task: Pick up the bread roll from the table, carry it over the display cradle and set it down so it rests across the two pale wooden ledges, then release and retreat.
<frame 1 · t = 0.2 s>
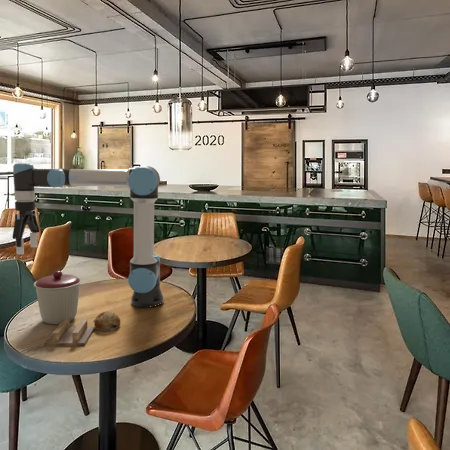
hand: (27, 250, 165), 28 cm above the table, tool pointing down, fingers open, 13 cm apart
display stand: (70, 337, 147), on the table
canister: (59, 320, 163), on the table
bread roll: (106, 327, 158), on the table
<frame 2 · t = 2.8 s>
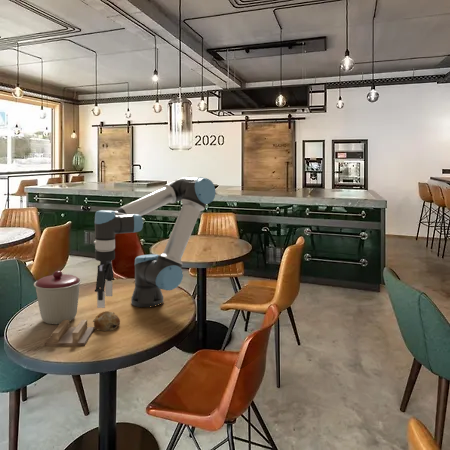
hand: (105, 301, 156), 11 cm above the table, tool pointing down, fingers open, 13 cm apart
nothing on the table moved.
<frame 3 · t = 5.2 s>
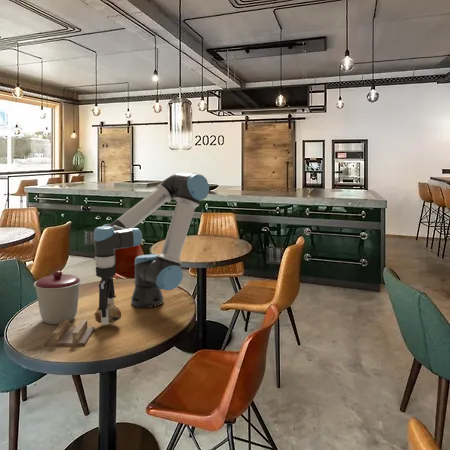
hand: (108, 318, 158), 3 cm above the table, tool pointing down, fingers closed on bread roll, 10 cm apart
bread roll: (107, 319, 158), point 3 cm above the table, touching gripper
everything else where it was.
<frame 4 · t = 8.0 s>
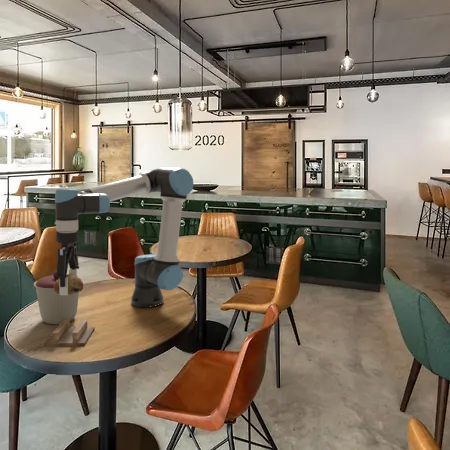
hand: (68, 290, 144), 19 cm above the table, tool pointing down, fingers closed on bread roll, 10 cm apart
bread roll: (67, 291, 144), point 18 cm above the table, touching gripper
everything else where it was.
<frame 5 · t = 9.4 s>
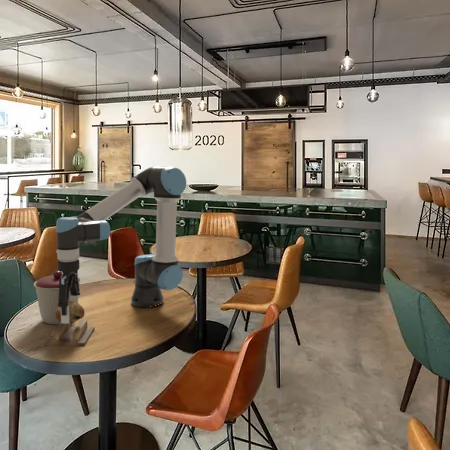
hand: (70, 317, 146), 8 cm above the table, tool pointing down, fingers closed on bread roll, 10 cm apart
bread roll: (69, 318, 146), point 7 cm above the table, touching gripper
everything else where it was.
when the fingers open (4 cm above the table, at t = 10.7 s): bread roll stays where it is, resting on display stand.
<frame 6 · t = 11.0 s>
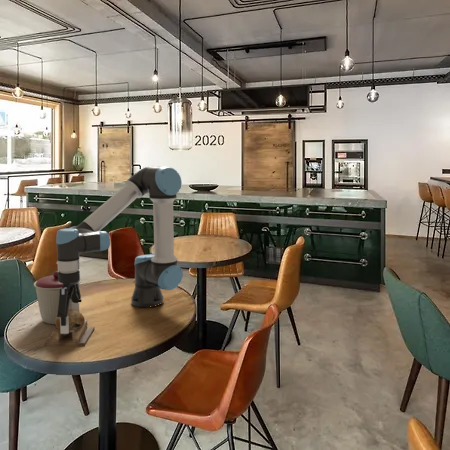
hand: (70, 325, 147), 5 cm above the table, tool pointing down, fingers open, 12 cm apart
bread roll: (69, 326, 147), point 4 cm above the table, touching display stand
everything else where it was.
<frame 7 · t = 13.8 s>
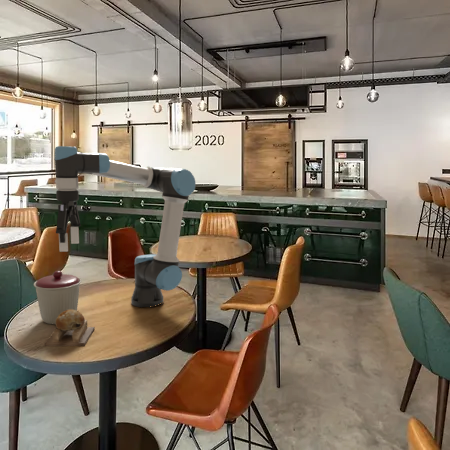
hand: (69, 247, 144), 34 cm above the table, tool pointing down, fingers open, 13 cm apart
nothing on the table moved.
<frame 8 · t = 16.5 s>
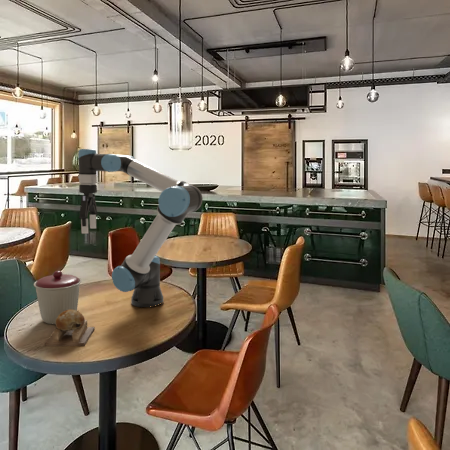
hand: (89, 230, 177), 35 cm above the table, tool pointing down, fingers open, 13 cm apart
nothing on the table moved.
at the end: bread roll inside the target area on the display stand (0.4 cm from its centre), point 4.3 cm above the display stand's base; bread roll touching display stand; the gripper is holding nothing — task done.
